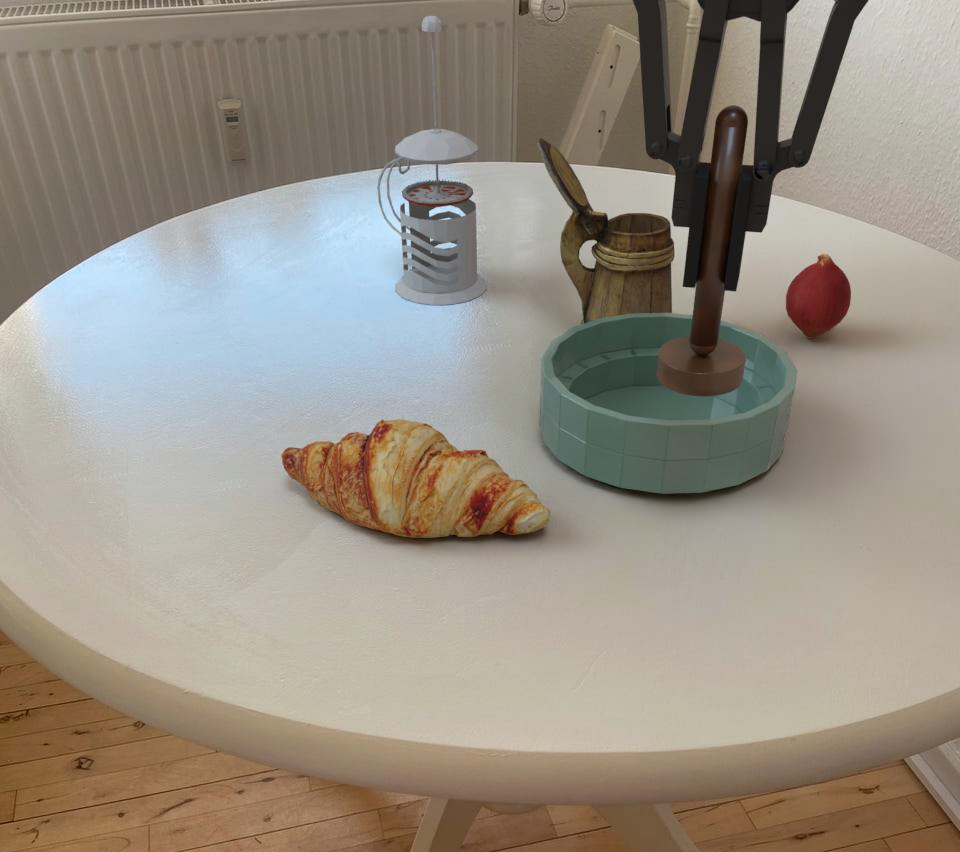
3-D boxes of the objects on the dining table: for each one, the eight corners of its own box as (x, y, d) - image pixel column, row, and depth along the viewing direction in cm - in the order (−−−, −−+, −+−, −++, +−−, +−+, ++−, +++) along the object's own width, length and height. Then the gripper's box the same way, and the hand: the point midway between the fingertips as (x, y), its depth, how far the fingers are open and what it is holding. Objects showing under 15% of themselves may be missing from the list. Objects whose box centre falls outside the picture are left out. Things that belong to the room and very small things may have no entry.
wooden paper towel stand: (745, 362, 71) (787, 95, 61) (739, 401, 67) (782, 121, 56) (662, 354, 72) (689, 90, 62) (650, 391, 68) (677, 116, 58)
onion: (809, 319, 105) (826, 237, 99) (854, 340, 101) (874, 256, 96) (767, 333, 102) (781, 250, 97) (811, 355, 98) (829, 270, 93)
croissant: (556, 554, 80) (576, 449, 78) (524, 570, 71) (545, 451, 69) (305, 500, 86) (317, 400, 84) (243, 509, 76) (255, 396, 74)
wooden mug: (537, 318, 105) (542, 123, 94) (675, 325, 104) (697, 127, 92) (528, 357, 99) (532, 152, 87) (674, 365, 97) (698, 158, 85)
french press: (457, 312, 107) (449, 30, 91) (362, 290, 111) (339, 18, 95) (504, 279, 113) (505, 10, 97) (412, 260, 118) (399, 0, 101)
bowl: (789, 397, 92) (803, 326, 88) (772, 519, 78) (787, 440, 74) (568, 371, 96) (572, 302, 92) (514, 481, 82) (515, 406, 78)
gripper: (605, -201, 49) (582, 293, 64) (943, -204, 46) (834, 316, 61) (630, -208, 55) (603, 249, 70) (933, -211, 52) (835, 268, 67)
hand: (711, 280), depth 66 cm, fingers closed on wooden paper towel stand, 2 cm apart
